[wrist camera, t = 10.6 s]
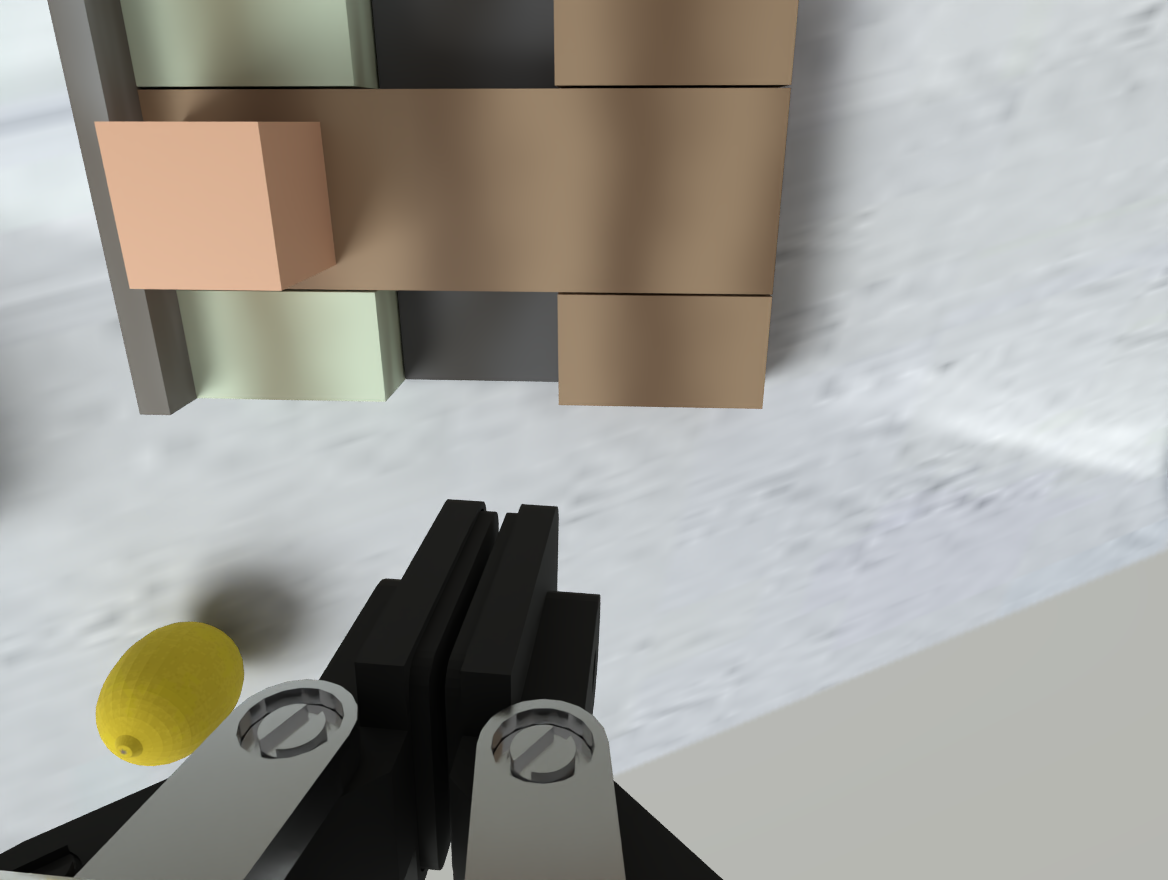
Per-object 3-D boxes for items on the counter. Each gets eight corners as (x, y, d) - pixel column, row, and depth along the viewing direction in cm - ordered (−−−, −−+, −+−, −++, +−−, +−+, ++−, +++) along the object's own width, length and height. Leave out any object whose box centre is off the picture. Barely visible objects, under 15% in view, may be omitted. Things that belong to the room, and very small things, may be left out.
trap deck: (787, -49, 28) (818, -83, 23) (751, 385, 34) (770, 427, 29) (127, -41, 29) (31, -73, 24) (205, 375, 35) (140, 414, 30)
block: (319, 121, 28) (257, 121, 23) (336, 264, 30) (281, 290, 25) (182, 121, 28) (94, 121, 24) (207, 263, 30) (129, 288, 25)
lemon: (278, 610, 40) (197, 723, 32) (260, 693, 42) (179, 817, 34) (170, 577, 39) (62, 683, 32) (157, 662, 41) (52, 781, 34)
